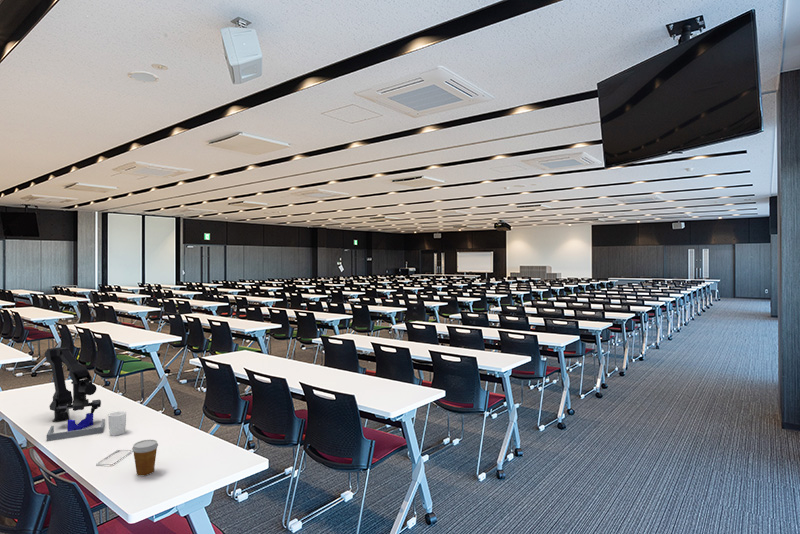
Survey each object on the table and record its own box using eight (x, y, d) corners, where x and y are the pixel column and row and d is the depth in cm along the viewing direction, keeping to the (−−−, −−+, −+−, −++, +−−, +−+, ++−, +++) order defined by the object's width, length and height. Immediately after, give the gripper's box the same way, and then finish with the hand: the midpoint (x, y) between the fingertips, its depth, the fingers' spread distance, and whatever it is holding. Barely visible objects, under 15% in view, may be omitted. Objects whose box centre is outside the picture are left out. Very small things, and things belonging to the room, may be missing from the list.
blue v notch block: (86, 423, 251) (86, 412, 251) (93, 424, 250) (93, 413, 250) (65, 431, 240) (65, 420, 240) (72, 432, 239) (72, 421, 238)
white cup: (130, 431, 240) (129, 412, 240) (115, 437, 233) (114, 417, 233) (119, 429, 244) (119, 410, 243) (104, 434, 236) (104, 414, 236)
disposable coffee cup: (138, 467, 199) (138, 439, 199) (162, 466, 200) (162, 438, 200) (127, 478, 190) (127, 448, 190) (152, 477, 191) (152, 447, 190)
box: (51, 431, 240) (51, 425, 240) (104, 424, 251) (104, 418, 251) (46, 441, 228) (46, 435, 228) (102, 432, 239) (102, 426, 239)
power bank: (112, 467, 201) (133, 452, 216) (112, 464, 201) (133, 449, 216) (95, 467, 201) (117, 452, 216) (95, 463, 201) (117, 449, 216)
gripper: (55, 399, 238) (56, 429, 238) (99, 393, 247) (99, 423, 247) (58, 393, 248) (59, 423, 248) (100, 388, 257) (101, 417, 257)
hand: (80, 421), depth 250 cm, fingers open, 9 cm apart
